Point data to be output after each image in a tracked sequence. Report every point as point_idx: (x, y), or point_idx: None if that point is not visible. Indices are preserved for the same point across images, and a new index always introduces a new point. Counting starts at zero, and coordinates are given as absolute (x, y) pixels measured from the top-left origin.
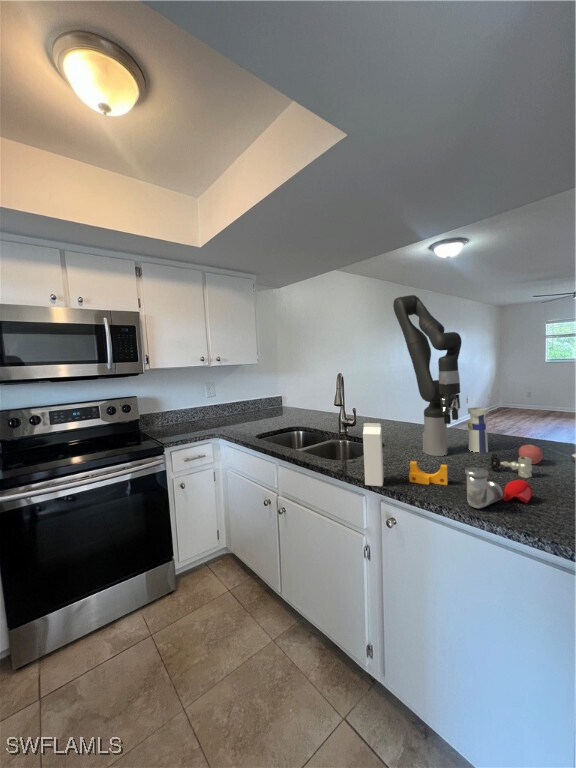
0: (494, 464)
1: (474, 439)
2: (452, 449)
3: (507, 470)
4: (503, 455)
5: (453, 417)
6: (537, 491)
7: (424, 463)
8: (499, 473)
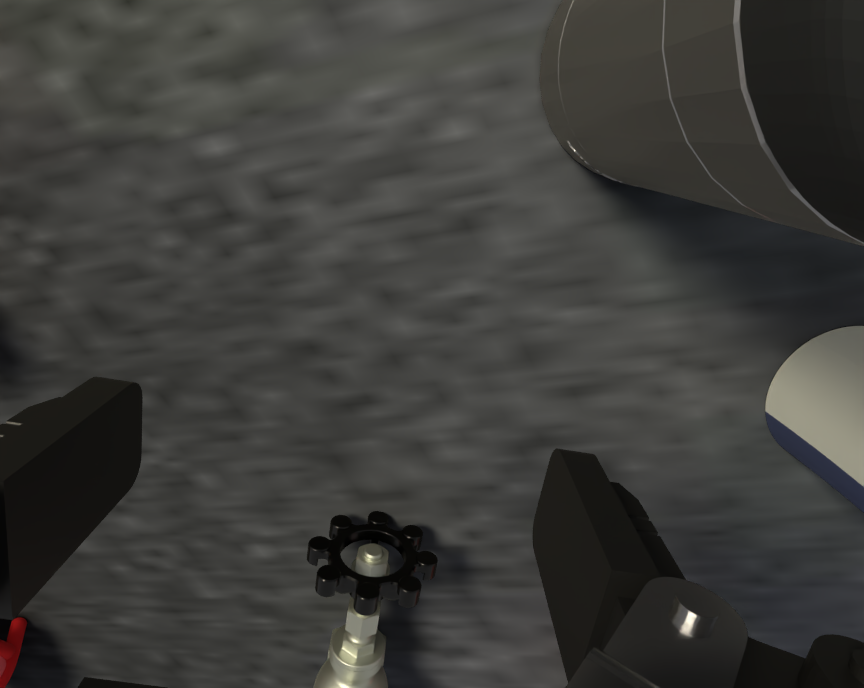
0: (395, 542)
1: (856, 435)
2: None
3: None
4: (744, 549)
5: (561, 492)
6: (152, 682)
7: (274, 38)
8: None
